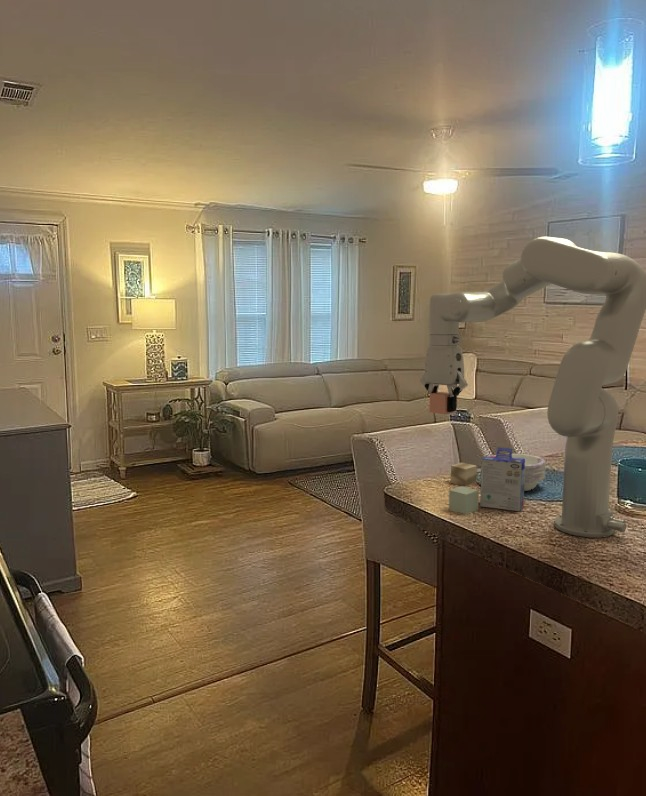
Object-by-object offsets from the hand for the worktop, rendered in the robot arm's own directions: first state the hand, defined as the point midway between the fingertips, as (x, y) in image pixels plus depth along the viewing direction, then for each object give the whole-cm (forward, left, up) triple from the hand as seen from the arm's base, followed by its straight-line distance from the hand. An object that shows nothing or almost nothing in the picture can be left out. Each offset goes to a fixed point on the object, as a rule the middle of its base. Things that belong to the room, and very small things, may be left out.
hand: (443, 409), depth 167 cm
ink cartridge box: (-19, 0, -22) cm, 29 cm away
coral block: (0, 0, -1) cm, 1 cm away
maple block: (0, -10, -22) cm, 24 cm away
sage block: (-14, +9, -22) cm, 28 cm away
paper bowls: (-12, -17, -22) cm, 30 cm away
